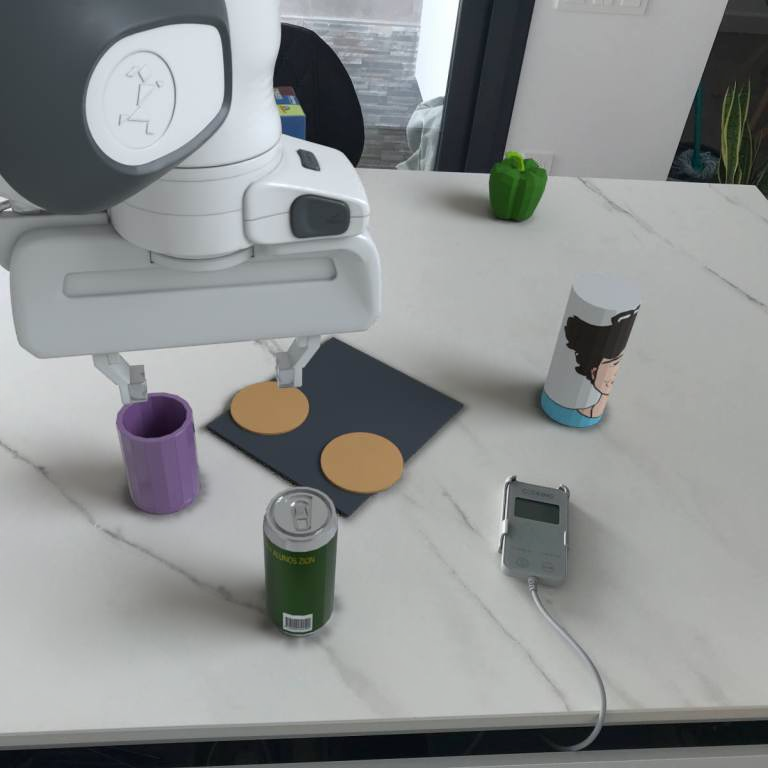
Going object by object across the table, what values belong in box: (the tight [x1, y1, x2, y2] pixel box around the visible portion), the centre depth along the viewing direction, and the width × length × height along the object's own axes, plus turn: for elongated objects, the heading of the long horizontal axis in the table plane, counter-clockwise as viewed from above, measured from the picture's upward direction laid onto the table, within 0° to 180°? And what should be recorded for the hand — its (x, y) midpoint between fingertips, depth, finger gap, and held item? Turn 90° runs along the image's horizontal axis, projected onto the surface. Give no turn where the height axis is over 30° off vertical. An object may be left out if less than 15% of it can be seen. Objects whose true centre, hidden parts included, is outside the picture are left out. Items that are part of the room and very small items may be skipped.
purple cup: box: [115, 391, 201, 515], centre depth 68 cm, size 6×6×9 cm
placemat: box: [206, 336, 465, 518], centre depth 80 cm, size 20×20×1 cm
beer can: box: [262, 486, 339, 637], centre depth 59 cm, size 5×5×12 cm
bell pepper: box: [488, 150, 548, 222], centre depth 115 cm, size 8×8×10 cm
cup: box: [540, 271, 644, 428], centre depth 80 cm, size 7×7×15 cm
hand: (213, 389), depth 49 cm, fingers open, 8 cm apart
